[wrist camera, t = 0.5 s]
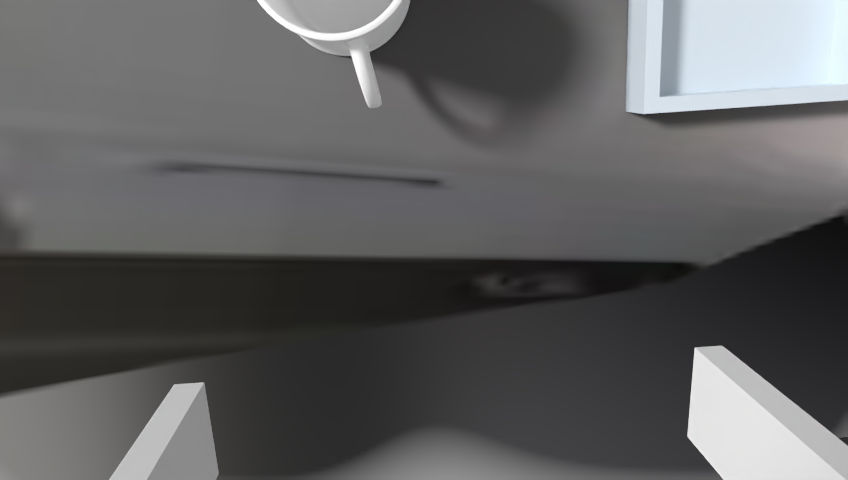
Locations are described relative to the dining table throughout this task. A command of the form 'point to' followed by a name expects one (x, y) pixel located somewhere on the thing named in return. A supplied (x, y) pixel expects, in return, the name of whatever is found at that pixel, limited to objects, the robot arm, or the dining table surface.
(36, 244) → the dining table surface
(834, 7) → the tray
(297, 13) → the mug
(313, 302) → the dining table surface
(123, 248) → the dining table surface
